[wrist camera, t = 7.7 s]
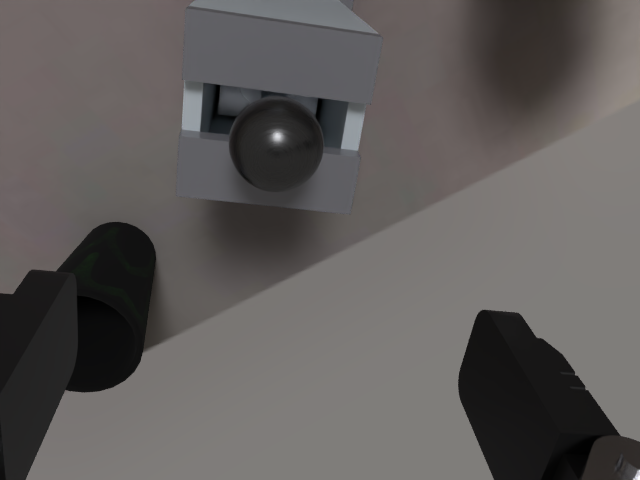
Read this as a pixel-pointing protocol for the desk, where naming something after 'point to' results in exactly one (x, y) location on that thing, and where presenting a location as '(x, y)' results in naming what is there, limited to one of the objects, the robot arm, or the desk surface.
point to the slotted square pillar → (276, 76)
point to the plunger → (272, 137)
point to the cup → (110, 304)
